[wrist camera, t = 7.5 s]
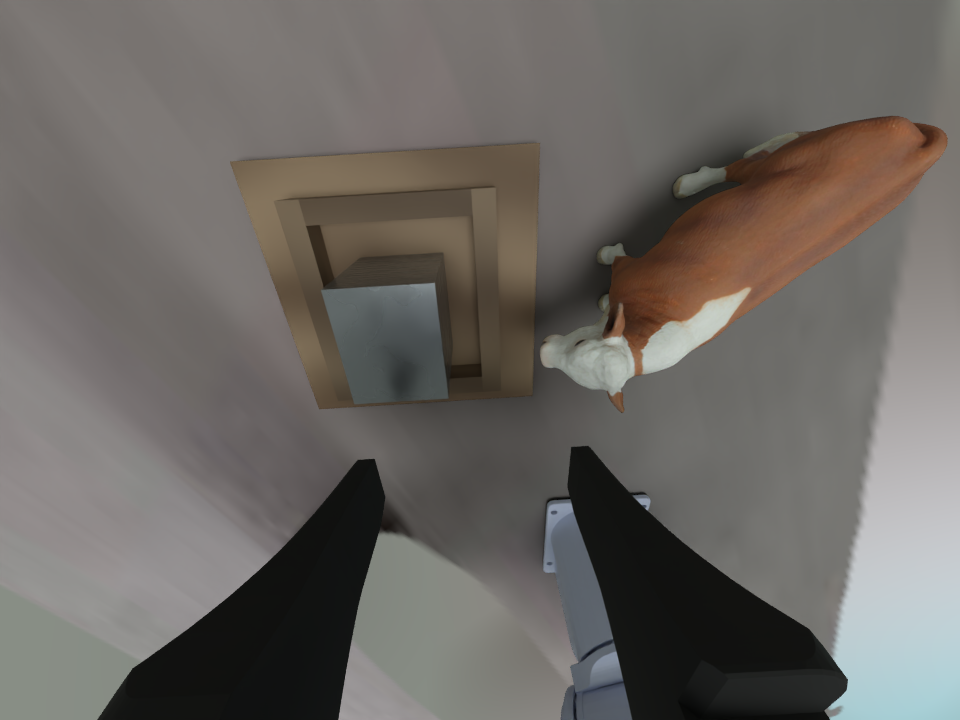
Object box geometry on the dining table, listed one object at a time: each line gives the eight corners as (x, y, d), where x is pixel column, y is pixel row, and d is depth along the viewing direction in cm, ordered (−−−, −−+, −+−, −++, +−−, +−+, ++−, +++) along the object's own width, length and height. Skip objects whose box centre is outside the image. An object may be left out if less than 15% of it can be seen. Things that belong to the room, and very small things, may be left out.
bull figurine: (509, 294, 18) (536, 374, 11) (764, 106, 14) (1048, 46, 7) (551, 350, 20) (598, 450, 13) (788, 195, 16) (1037, 216, 9)
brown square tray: (530, 388, 21) (536, 410, 19) (324, 401, 21) (310, 424, 19) (536, 144, 15) (546, 140, 13) (240, 162, 15) (207, 161, 13)
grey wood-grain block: (452, 344, 19) (448, 398, 14) (380, 349, 19) (354, 404, 14) (443, 252, 16) (434, 282, 12) (360, 257, 16) (320, 289, 12)
